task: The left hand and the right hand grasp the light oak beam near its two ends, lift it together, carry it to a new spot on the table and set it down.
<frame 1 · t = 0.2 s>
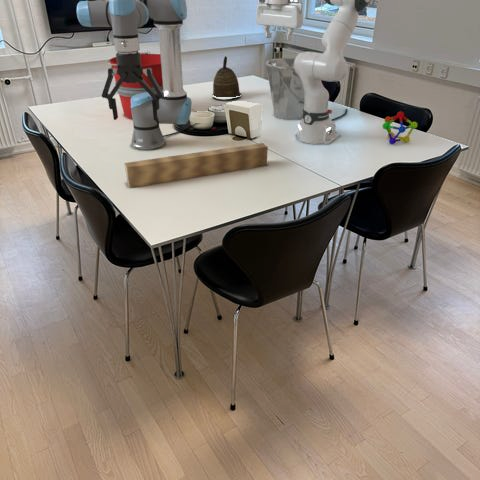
left hand: (135, 119, 150), 27 cm above the table, tool pointing down, fingers open, 13 cm apart
right hand: (277, 39, 170), 48 cm above the table, tool pointing down, fingers open, 8 cm apart
bell: (226, 97, 281), on the table
bucket: (290, 115, 249), on the table
beam: (200, 173, 179), on the table
bucket 2: (146, 113, 250), on the table
educational toy: (395, 143, 211), on the table
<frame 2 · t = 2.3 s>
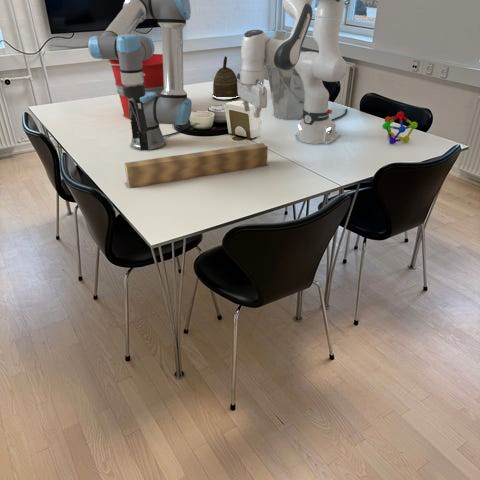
left hand: (140, 143, 163), 16 cm above the table, tool pointing down, fingers open, 13 cm apart
right hand: (251, 114, 175), 22 cm above the table, tool pointing down, fingers open, 8 cm apart
nothing on the table moved.
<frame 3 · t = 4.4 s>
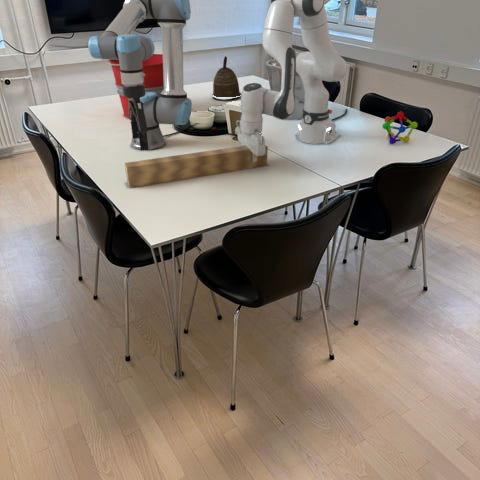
left hand: (140, 143, 163), 16 cm above the table, tool pointing down, fingers open, 13 cm apart
right hand: (250, 158, 185), 3 cm above the table, tool pointing down, fingers closed on beam, 5 cm apart
beam: (200, 173, 179), on the table, touching right hand
everything else where it was.
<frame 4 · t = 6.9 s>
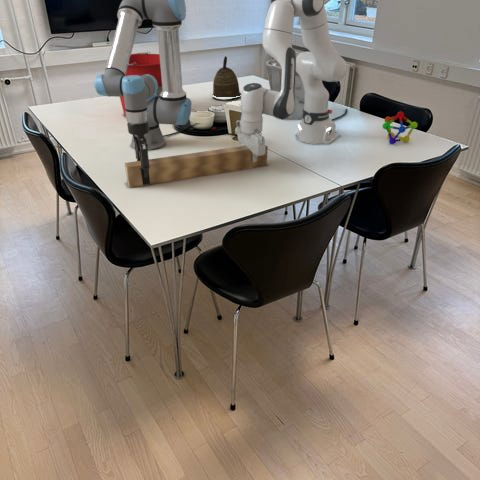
left hand: (144, 181, 171), 1 cm above the table, tool pointing down, fingers closed on beam, 5 cm apart
right hand: (250, 158, 185), 3 cm above the table, tool pointing down, fingers closed on beam, 5 cm apart
beam: (200, 173, 179), on the table, touching left hand, right hand
everything else where it was.
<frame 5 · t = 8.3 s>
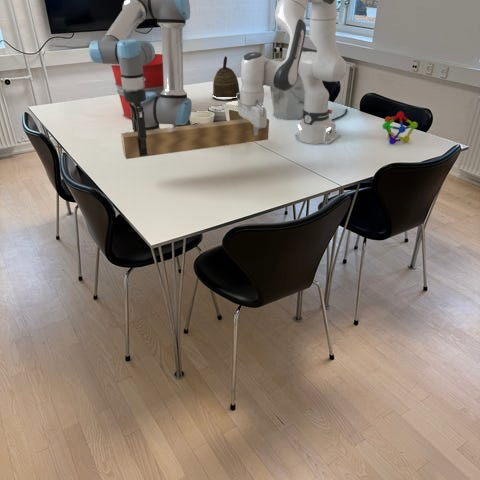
left hand: (142, 152, 165), 12 cm above the table, tool pointing down, fingers closed on beam, 5 cm apart
right hand: (251, 132, 179), 14 cm above the table, tool pointing down, fingers closed on beam, 5 cm apart
beam: (199, 146, 173), point 11 cm above the table, touching left hand, right hand
everything else where it was.
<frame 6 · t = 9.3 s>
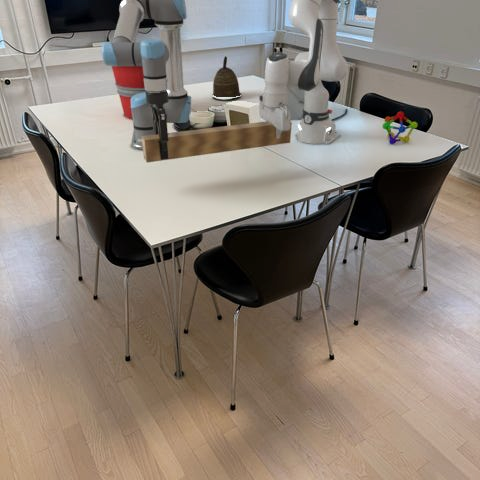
left hand: (162, 156, 161), 13 cm above the table, tool pointing down, fingers closed on beam, 5 cm apart
right hand: (273, 135, 175), 15 cm above the table, tool pointing down, fingers closed on beam, 5 cm apart
beam: (220, 150, 169), point 12 cm above the table, touching left hand, right hand
everything else where it was.
when the left hand's fingers open (2 cm above the table, at t = 12.0 s): beam drops 2 cm, on the table.
when the right hand's fingers open (5 cm above the table, at t = 12.2 s): beam stays where it is, on the table.
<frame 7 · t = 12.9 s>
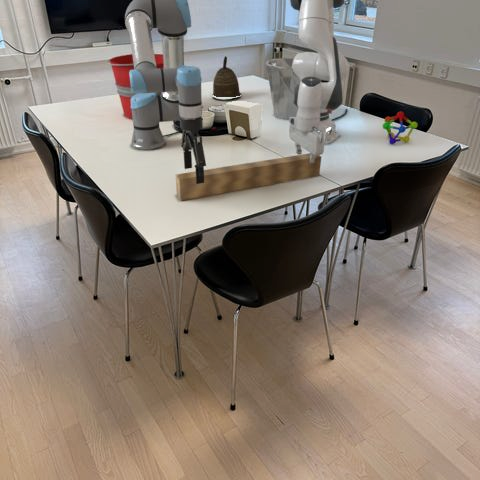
left hand: (194, 175, 158), 8 cm above the table, tool pointing down, fingers open, 13 cm apart
right hand: (304, 158, 174), 8 cm above the table, tool pointing down, fingers open, 8 cm apart
beam: (251, 185, 170), on the table
everything else where it was.
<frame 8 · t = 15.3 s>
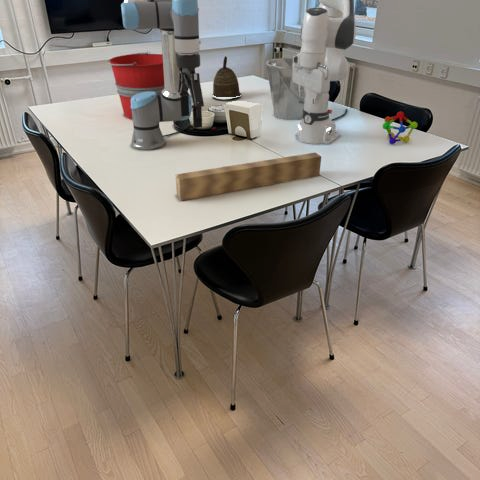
left hand: (191, 121, 148), 27 cm above the table, tool pointing down, fingers open, 13 cm apart
right hand: (308, 100, 161), 30 cm above the table, tool pointing down, fingers open, 8 cm apart
nothing on the table moved.
at the end: beam inside the target area (0.3 cm from its centre), on the table; beam tilted 0°; beam never tilted more than 2° during the clip; both hands held the beam at the same time; the left hand is holding nothing; the right hand is holding nothing; beam at rest at the end (0.0 cm/s) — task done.
